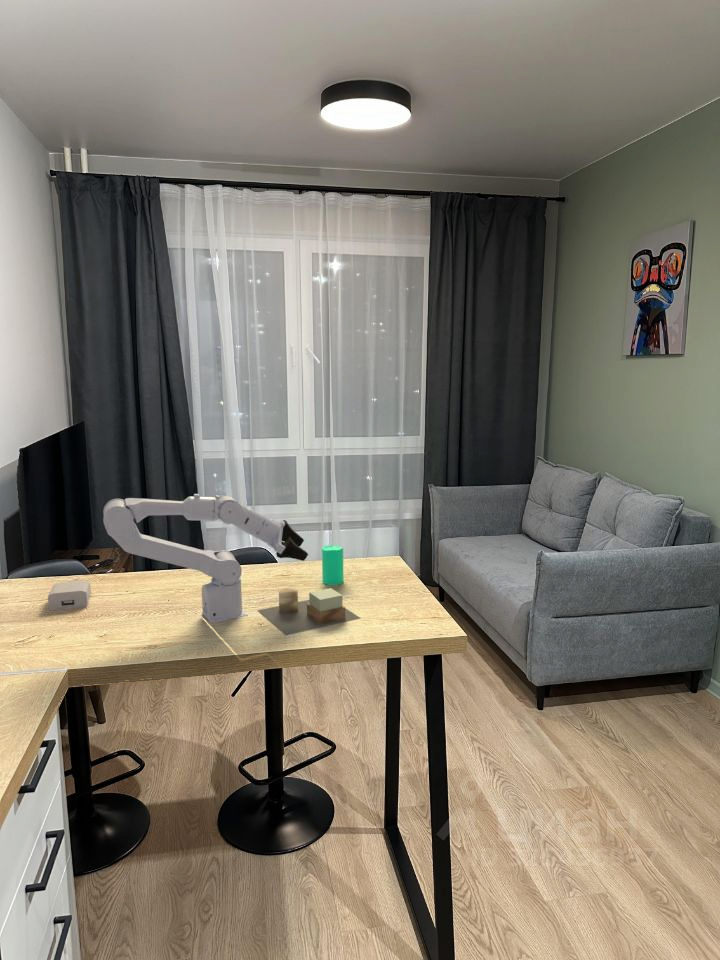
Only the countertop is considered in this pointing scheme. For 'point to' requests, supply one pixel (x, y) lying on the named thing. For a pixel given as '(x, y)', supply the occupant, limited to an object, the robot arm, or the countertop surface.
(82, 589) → the charger
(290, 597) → the tan rounded cylinder
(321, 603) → the tower top
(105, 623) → the countertop surface
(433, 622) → the countertop surface
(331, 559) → the candle
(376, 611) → the countertop surface
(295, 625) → the mat
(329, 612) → the tower base
